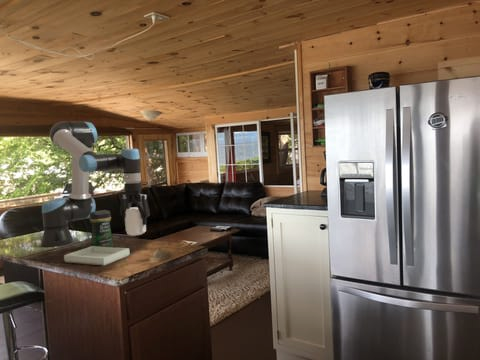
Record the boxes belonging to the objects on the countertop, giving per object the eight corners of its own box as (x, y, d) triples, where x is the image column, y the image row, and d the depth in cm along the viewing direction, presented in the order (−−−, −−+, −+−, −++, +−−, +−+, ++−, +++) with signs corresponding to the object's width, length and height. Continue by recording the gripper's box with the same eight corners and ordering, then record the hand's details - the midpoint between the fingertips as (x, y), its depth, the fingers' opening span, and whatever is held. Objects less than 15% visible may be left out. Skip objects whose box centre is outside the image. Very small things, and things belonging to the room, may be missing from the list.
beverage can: (138, 236, 175) (136, 210, 174) (123, 235, 178) (121, 209, 177) (148, 232, 183) (146, 207, 182) (133, 231, 186) (132, 206, 185)
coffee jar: (96, 251, 184) (93, 212, 183) (89, 249, 190) (86, 211, 188) (115, 247, 191) (112, 209, 190) (108, 244, 197) (105, 208, 195)
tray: (64, 262, 168) (64, 255, 168) (92, 252, 183) (91, 246, 183) (104, 265, 159) (103, 258, 159) (129, 255, 174) (129, 248, 174)
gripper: (109, 183, 179) (112, 231, 181) (146, 183, 171) (149, 234, 173) (120, 181, 186) (123, 228, 188) (156, 181, 178) (159, 230, 180)
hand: (135, 231), depth 180 cm, fingers closed on beverage can, 8 cm apart
